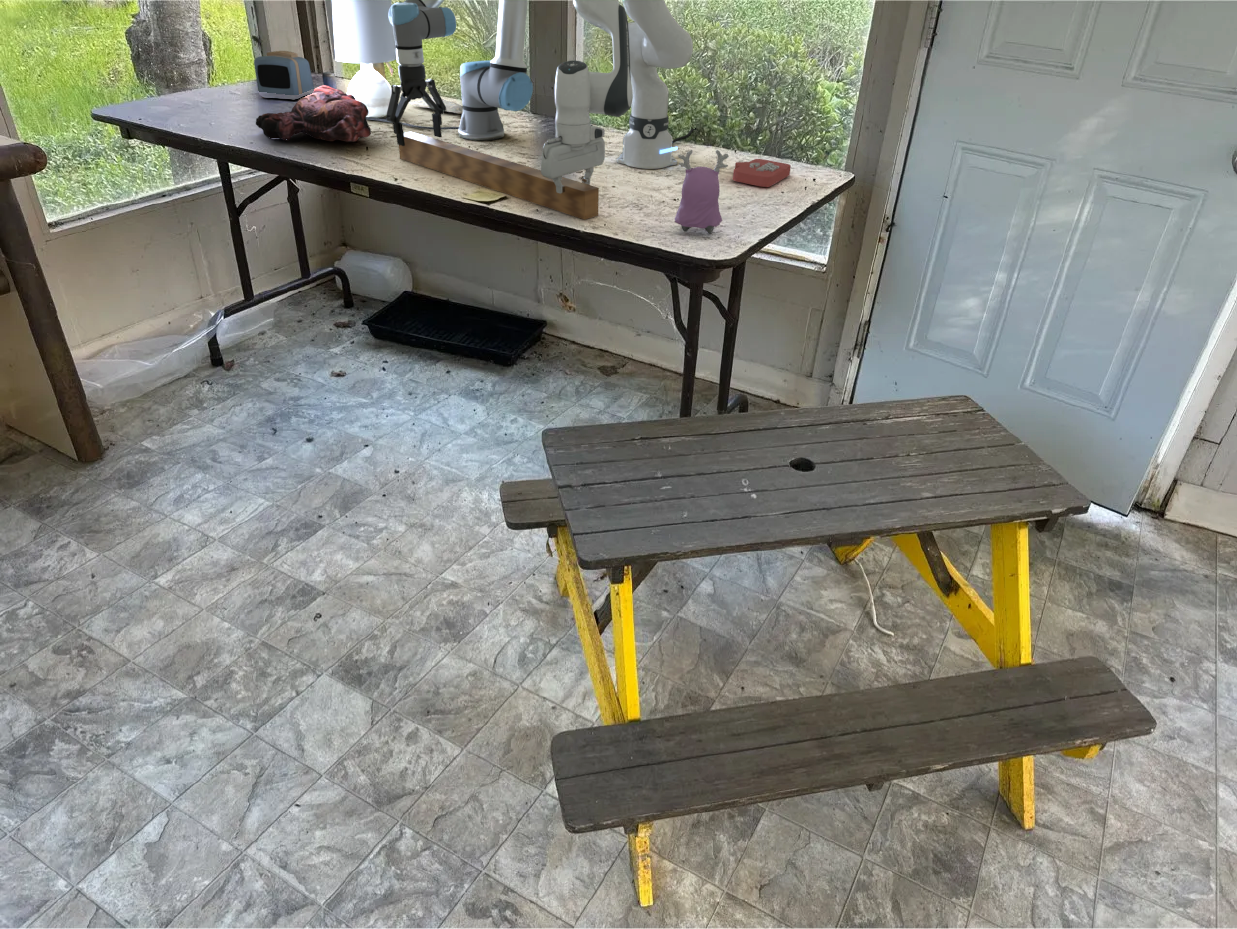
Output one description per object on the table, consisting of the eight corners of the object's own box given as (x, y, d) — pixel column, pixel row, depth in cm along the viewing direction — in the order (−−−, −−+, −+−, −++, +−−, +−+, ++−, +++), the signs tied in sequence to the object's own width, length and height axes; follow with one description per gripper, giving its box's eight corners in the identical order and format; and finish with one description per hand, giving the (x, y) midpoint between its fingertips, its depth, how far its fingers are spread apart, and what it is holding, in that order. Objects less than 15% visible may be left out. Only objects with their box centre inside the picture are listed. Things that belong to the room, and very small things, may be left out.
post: (400, 158, 261) (397, 134, 257) (413, 155, 265) (411, 131, 261) (584, 219, 219) (584, 191, 215) (598, 215, 222) (598, 187, 218)
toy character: (721, 226, 217) (729, 145, 206) (721, 240, 208) (729, 156, 197) (673, 223, 218) (679, 142, 207) (671, 236, 209) (677, 153, 198)
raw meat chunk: (388, 148, 274) (381, 105, 266) (300, 168, 259) (290, 124, 251) (331, 115, 299) (323, 75, 291) (247, 132, 285) (236, 91, 276)
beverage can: (339, 109, 314) (334, 74, 307) (318, 108, 314) (312, 73, 307) (346, 104, 321) (341, 69, 314) (325, 103, 321) (320, 69, 314)
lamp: (416, 115, 310) (403, -11, 287) (372, 125, 294) (355, -7, 272) (373, 106, 319) (358, -16, 296) (328, 116, 304) (309, -13, 281)
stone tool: (407, 106, 321) (455, 116, 310) (406, 98, 320) (455, 108, 308) (428, 102, 329) (476, 112, 317) (427, 94, 327) (475, 104, 316)
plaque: (748, 154, 263) (793, 162, 256) (746, 167, 265) (791, 175, 258) (722, 166, 250) (769, 175, 244) (721, 179, 252) (767, 189, 246)
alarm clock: (257, 98, 324) (248, 53, 316) (278, 90, 338) (270, 46, 329) (297, 101, 323) (289, 55, 314) (317, 93, 336) (310, 49, 327)
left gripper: (382, 71, 234) (392, 151, 246) (453, 60, 249) (460, 135, 262) (366, 67, 238) (377, 146, 250) (437, 56, 253) (445, 131, 266)
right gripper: (552, 143, 205) (553, 200, 212) (609, 128, 217) (608, 183, 225) (534, 138, 208) (536, 194, 216) (591, 124, 221) (591, 178, 228)
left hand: (419, 140), depth 256 cm, fingers open, 13 cm apart
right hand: (573, 188), depth 221 cm, fingers open, 8 cm apart
